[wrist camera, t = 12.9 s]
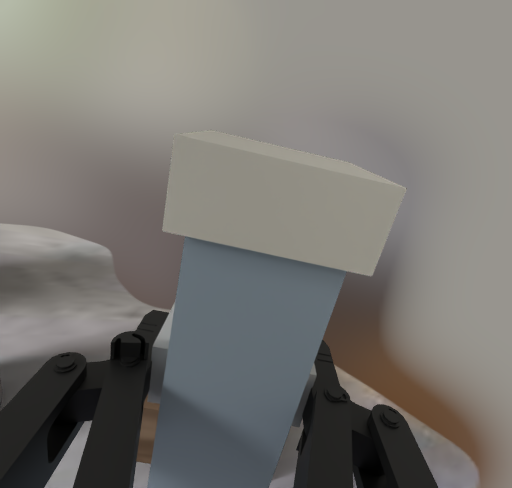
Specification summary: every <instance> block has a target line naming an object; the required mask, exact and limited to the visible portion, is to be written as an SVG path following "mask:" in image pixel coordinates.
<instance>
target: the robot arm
mask: <svg viewBox="0 0 512 488" xmlns="http://www.w3.org/2000/svg"><path fill="white" fill-rule="evenodd" d="M174 307H175V303H174V305H173V307H172V309H171V311H170V313H167V312H162V311H156V310H152V311H151V312H149V313H148V314H146V315H145V316H144V318H143V319H142V321H141V323H140V324H139V326H138V327H137V330H136V331H130V332H124V333H121V334H119V335H117V336H116V337H114V338H113V340H112V342H111V357H110V360H107V361H101V362H89V363H86V358H85V357H84V356H83V355H81V354H79V353H73V352H68V353H63V354H59V355H57V356H54V357H52V358H51V359H50V360H49V361H47V362H46V363H45V364H44V365H43V366H42V368H41V369H40V370H39V371H38V372H37V373H36V374H35V375H34V376H33V377H32V378H31V379H30V381H29V382H28V383H27V384H26V385H25V386H24V387H23V388H22V389H21V390H20V391H19V392H18V393H17V395H16V396H15V397H14V398H13V399H12V400H11V401H10V402H9V403H8V404H7V405H6V406H5V407H4V409H3V410H2V411H1V412H0V488H44V487H45V485H46V484H47V482H48V480H49V479H50V477H51V475H52V474H53V472H54V471H55V469H56V467H57V466H58V464H59V462H60V461H61V459H62V458H63V456H64V454H65V453H66V451H67V449H68V448H69V446H70V444H71V443H72V441H73V440H74V438H75V436H76V435H77V433H78V431H79V430H80V428H81V427H82V425H83V423H84V421H91V420H93V421H92V424H91V428H90V431H89V435H88V438H87V441H86V445H85V448H84V452H83V455H82V458H81V462H80V465H79V469H78V472H77V475H76V479H75V482H74V486H73V488H133V482H134V474H135V467H136V460H137V453H138V445H139V438H140V431H141V423H142V416H143V407H144V401H145V399H146V397H147V394H148V399H147V402H152V403H158V404H160V400H161V394H162V387H163V380H164V374H165V367H166V361H167V354H168V347H169V341H170V334H171V327H172V321H173V314H174ZM302 417H303V424H304V429H303V432H302V435H301V438H300V440H299V443H298V446H297V449H296V450H297V451H299V453H298V460H297V467H296V473H295V480H294V487H293V488H353V473H354V477H355V481H356V485H357V488H438V486H437V484H436V482H435V480H434V478H433V475H432V473H431V471H430V469H429V467H428V465H427V463H426V461H425V459H424V457H423V455H422V453H421V450H420V448H419V446H418V444H417V442H416V440H415V438H414V436H413V434H412V432H411V430H410V428H409V426H408V423H407V422H406V420H405V419H404V417H403V416H402V415H401V414H400V413H399V412H398V411H397V410H395V409H393V408H392V407H390V406H386V405H376V406H374V407H373V409H372V411H371V410H368V409H366V408H364V407H362V406H359V405H357V404H355V403H354V402H352V401H351V400H350V396H349V395H348V393H347V392H346V390H344V389H343V388H342V387H341V386H340V384H339V381H338V377H337V374H336V370H335V367H334V364H333V360H332V357H331V353H330V349H329V347H328V346H327V344H326V343H325V342H324V341H323V340H322V341H321V344H320V347H319V350H318V353H317V355H316V358H315V361H314V364H313V366H312V369H311V372H310V375H309V377H308V380H307V383H306V386H305V388H304V391H303V394H302V397H301V400H300V402H299V405H298V408H297V411H296V413H295V416H294V419H293V422H292V424H291V426H296V427H299V426H300V423H301V420H302Z"/></svg>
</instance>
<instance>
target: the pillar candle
mask: <svg viewBox="0 0 512 488" xmlns="http://www.w3.org/2000/svg"><path fill="white" fill-rule="evenodd" d="M1 401H2V387H1V380H0V404H1Z"/></svg>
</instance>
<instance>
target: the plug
mask: <svg viewBox="0 0 512 488" xmlns="http://www.w3.org/2000/svg"><path fill="white" fill-rule="evenodd" d="M173 140H174V141H173V148H172V156H171V164H170V173H169V180H168V189H167V197H166V206H165V213H164V222H163V230H162V231H164V232H168V233H173V234H178V235H183V236H185V241H184V247H183V254H182V261H181V267H180V274H179V282H178V288H177V294H176V301H175V307H174V314H173V321H172V327H171V334H170V341H169V347H168V354H167V361H166V367H165V374H164V380H163V387H162V394H161V400H160V407H159V414H158V420H157V427H156V434H155V440H154V447H153V454H152V460H151V467H150V474H149V480H148V487H147V488H269V485H270V483H271V480H272V477H273V474H274V472H275V469H276V466H277V463H278V460H279V458H280V455H281V452H282V449H283V447H284V444H285V441H286V438H287V436H288V433H289V430H290V427H291V424H292V422H293V419H294V416H295V413H296V411H297V408H298V405H299V402H300V400H301V397H302V394H303V391H304V388H305V386H306V383H307V380H308V377H309V375H310V372H311V369H312V366H313V364H314V361H315V358H316V355H317V353H318V350H319V347H320V344H321V341H322V339H323V336H324V333H325V330H326V328H327V325H328V322H329V319H330V317H331V314H332V311H333V308H334V305H335V303H336V300H337V297H338V294H339V292H340V288H341V286H342V283H343V281H344V278H345V275H346V272H347V271H349V272H353V273H358V274H363V275H367V276H372V275H373V273H374V270H375V268H376V265H377V263H378V260H379V258H380V255H381V253H382V250H383V248H384V245H385V242H386V240H387V237H388V235H389V232H390V230H391V227H392V225H393V222H394V220H395V217H396V215H397V212H398V210H399V207H400V205H401V202H402V200H403V197H404V195H405V192H406V189H407V188H405V187H403V186H401V185H398V184H396V183H394V182H392V181H389V180H387V179H385V178H383V177H380V176H378V175H376V174H374V173H372V172H369V171H367V170H365V169H363V168H360V167H358V166H356V165H354V164H351V163H349V162H345V161H341V160H337V159H333V158H328V157H324V156H320V155H316V154H311V153H307V152H303V151H299V150H295V149H290V148H286V147H281V146H278V145H273V144H269V143H264V142H261V141H256V140H252V139H248V138H243V137H239V136H235V135H231V134H227V133H222V132H218V131H214V130H209V131H200V132H190V133H180V134H174V139H173Z"/></svg>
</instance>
